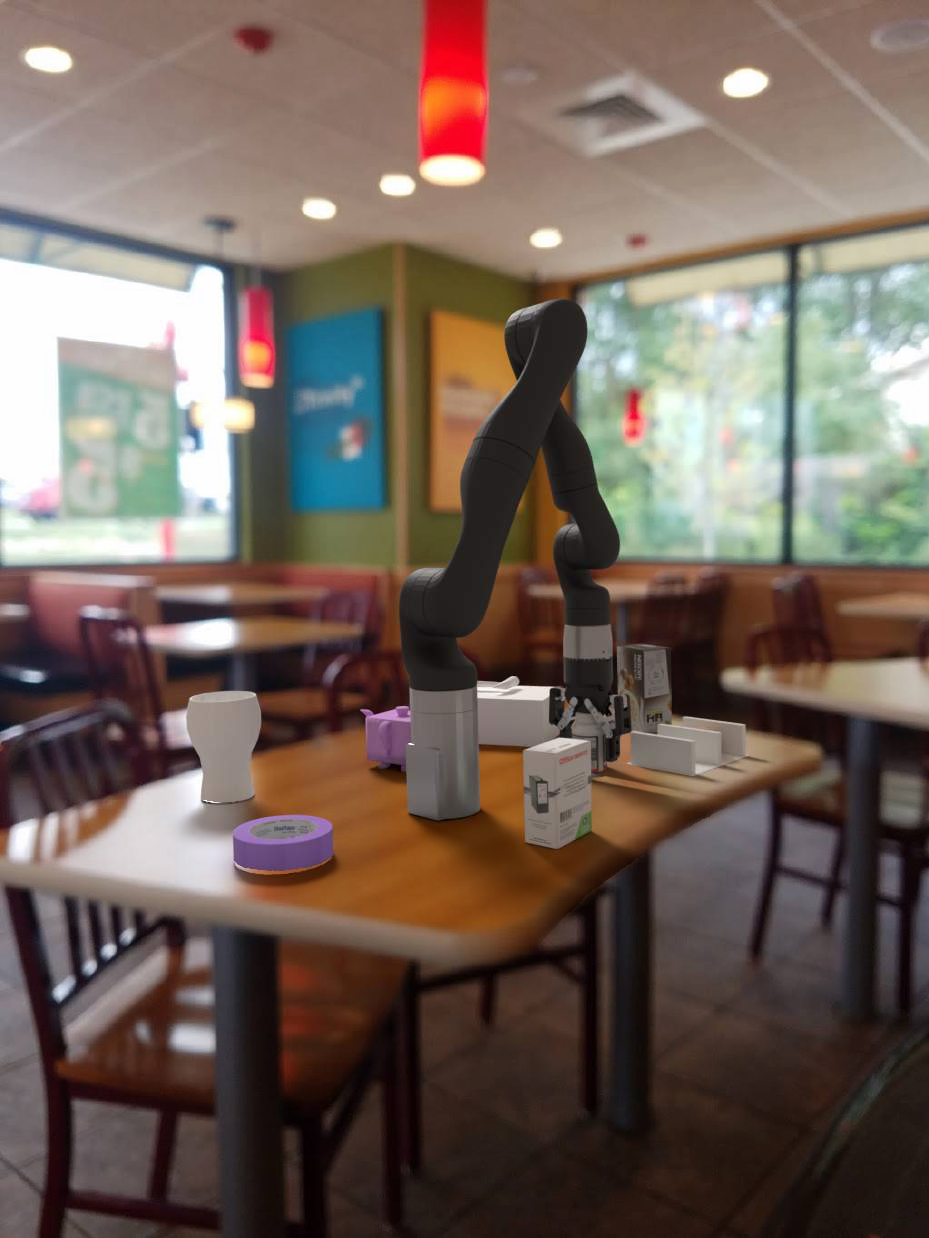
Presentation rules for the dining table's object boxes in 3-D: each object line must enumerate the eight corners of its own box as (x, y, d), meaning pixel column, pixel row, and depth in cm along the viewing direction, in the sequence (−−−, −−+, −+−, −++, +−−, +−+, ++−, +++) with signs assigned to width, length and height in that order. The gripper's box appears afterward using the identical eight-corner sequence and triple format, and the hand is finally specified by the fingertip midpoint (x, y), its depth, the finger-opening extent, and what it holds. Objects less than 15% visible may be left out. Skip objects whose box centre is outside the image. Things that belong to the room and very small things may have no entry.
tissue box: (543, 749, 169) (542, 687, 168) (412, 741, 177) (410, 683, 176) (563, 732, 182) (562, 675, 181) (440, 726, 191) (439, 671, 190)
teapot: (474, 762, 159) (472, 703, 158) (427, 780, 148) (425, 718, 148) (388, 750, 169) (387, 695, 168) (339, 767, 158) (336, 708, 158)
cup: (277, 788, 146) (272, 690, 144) (242, 808, 136) (237, 703, 134) (214, 785, 149) (209, 689, 147) (176, 804, 138) (170, 701, 137)
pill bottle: (589, 767, 154) (588, 707, 153) (614, 773, 149) (613, 711, 148) (565, 773, 150) (564, 712, 149) (590, 780, 146) (589, 716, 145)
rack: (693, 782, 143) (692, 742, 142) (626, 769, 151) (625, 732, 151) (749, 761, 155) (749, 724, 154) (685, 750, 163) (684, 715, 163)
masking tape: (305, 837, 123) (304, 808, 122) (351, 861, 113) (350, 829, 113) (218, 857, 116) (216, 826, 115) (259, 884, 106) (258, 851, 106)
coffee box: (673, 734, 176) (673, 647, 175) (645, 738, 174) (644, 650, 172) (644, 725, 185) (643, 642, 183) (616, 729, 182) (615, 645, 181)
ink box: (560, 824, 124) (558, 735, 123) (593, 831, 121) (592, 739, 120) (523, 843, 118) (521, 748, 116) (557, 850, 115) (555, 753, 113)
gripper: (536, 652, 150) (538, 754, 152) (611, 659, 140) (612, 768, 142) (567, 647, 156) (568, 746, 157) (640, 654, 146) (641, 759, 147)
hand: (589, 756), depth 150 cm, fingers open, 8 cm apart
